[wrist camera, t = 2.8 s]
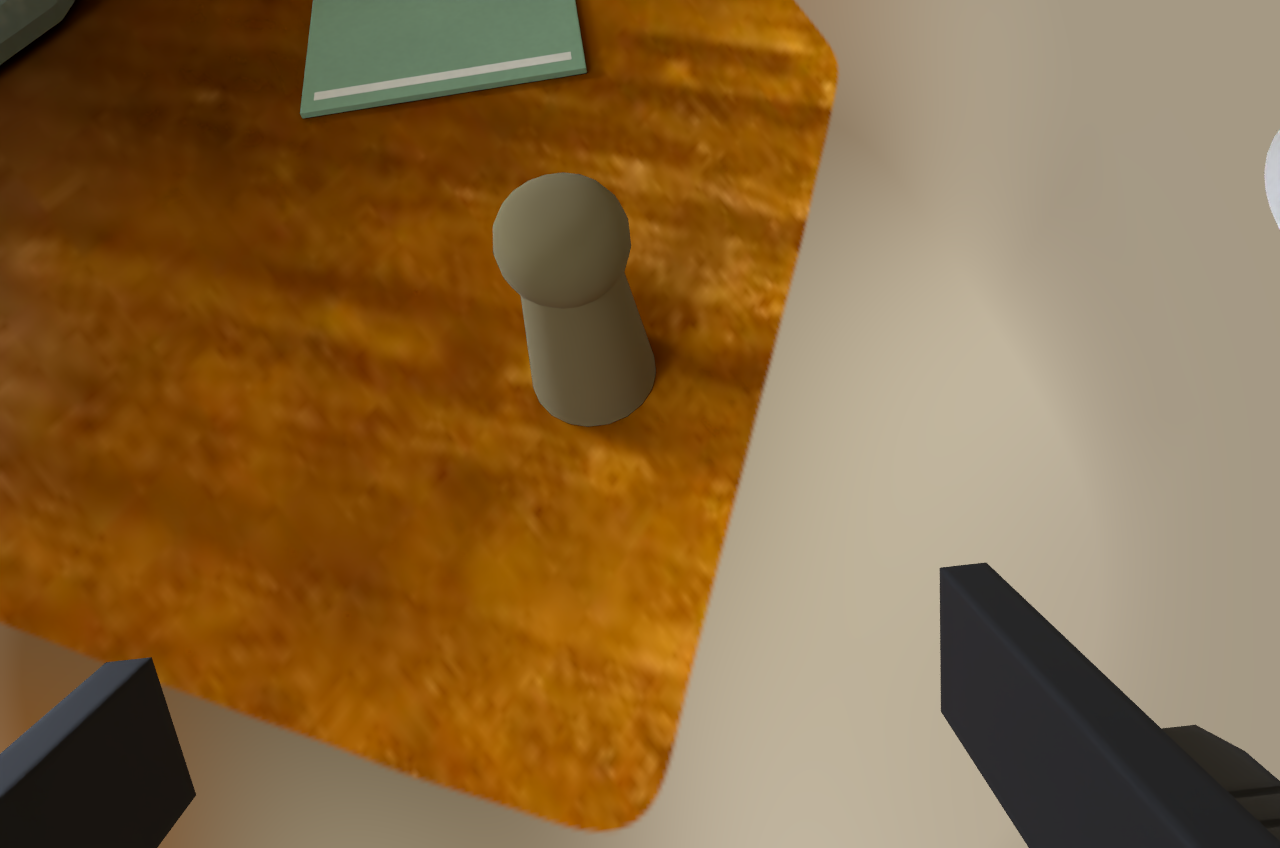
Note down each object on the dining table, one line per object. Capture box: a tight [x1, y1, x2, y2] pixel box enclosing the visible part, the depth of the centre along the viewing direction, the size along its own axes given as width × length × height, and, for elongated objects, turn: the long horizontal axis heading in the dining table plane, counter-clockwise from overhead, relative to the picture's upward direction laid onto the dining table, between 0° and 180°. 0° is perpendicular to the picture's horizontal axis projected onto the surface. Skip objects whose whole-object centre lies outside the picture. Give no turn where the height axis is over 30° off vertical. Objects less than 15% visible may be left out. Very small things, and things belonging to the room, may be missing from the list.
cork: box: [493, 173, 656, 427], centre depth 32 cm, size 6×6×11 cm
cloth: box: [300, 0, 587, 118], centre depth 50 cm, size 18×12×1 cm, turn 98°
